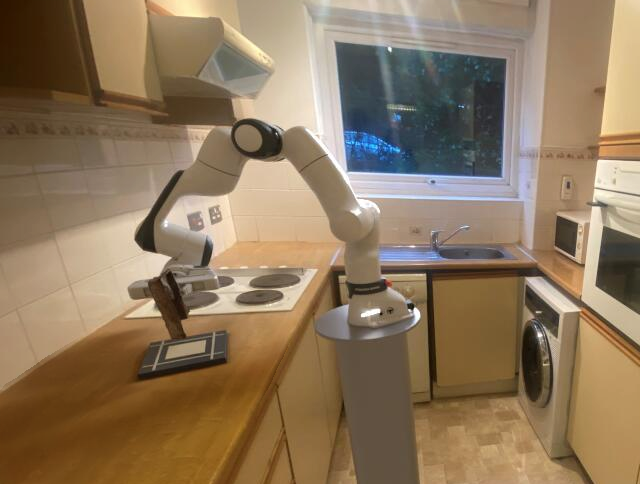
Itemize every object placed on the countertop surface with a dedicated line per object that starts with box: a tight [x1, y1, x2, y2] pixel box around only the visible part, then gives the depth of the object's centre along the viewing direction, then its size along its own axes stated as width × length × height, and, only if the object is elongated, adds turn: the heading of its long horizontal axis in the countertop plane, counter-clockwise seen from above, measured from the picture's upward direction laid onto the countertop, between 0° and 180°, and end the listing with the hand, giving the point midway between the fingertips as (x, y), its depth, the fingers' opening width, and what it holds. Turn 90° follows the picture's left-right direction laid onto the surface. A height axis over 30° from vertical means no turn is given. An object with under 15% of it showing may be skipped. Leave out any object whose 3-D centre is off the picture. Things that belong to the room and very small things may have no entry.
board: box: [137, 329, 229, 380], centre depth 116 cm, size 18×20×2 cm
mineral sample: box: [148, 269, 191, 340], centre depth 110 cm, size 17×4×15 cm, turn 30°
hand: (173, 294), depth 115 cm, fingers closed on mineral sample, 3 cm apart
